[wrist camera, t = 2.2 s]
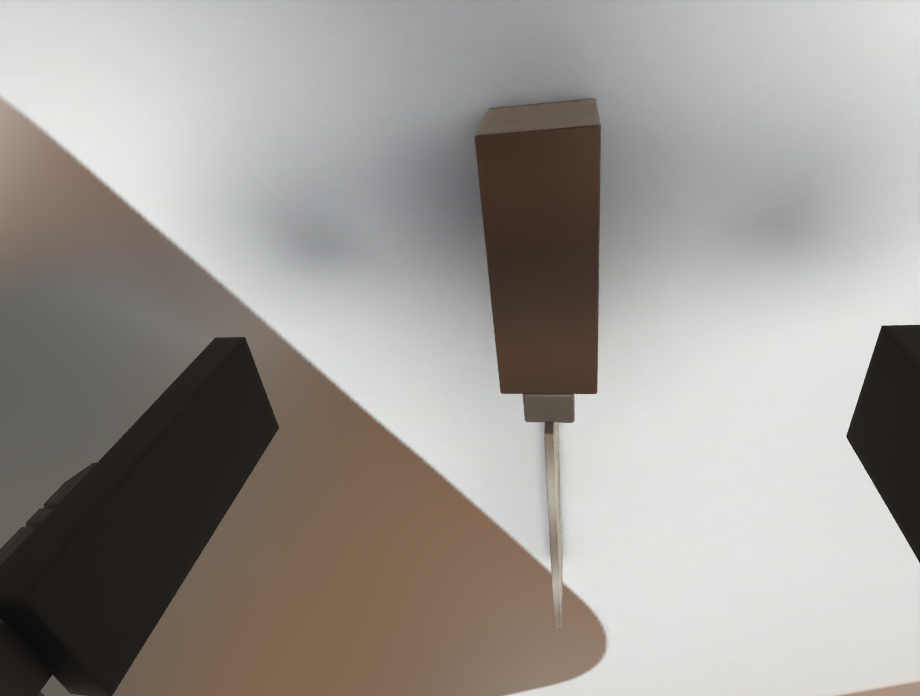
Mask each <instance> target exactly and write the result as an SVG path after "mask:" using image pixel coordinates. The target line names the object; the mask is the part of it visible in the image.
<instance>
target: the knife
mask: <svg viewBox="0 0 920 696" xmlns="http://www.w3.org/2000/svg"><path fill="white" fill-rule="evenodd" d="M475 147H476V157H477V167H478V176H479V186H480V196H481V206H482V216H483V225H484V235H485V245H486V255H487V264H488V274H489V284H490V294H491V303H492V313H493V323H494V333H495V342H496V352H497V362H498V372H499V381H500V391H501V393H502V394H523V403H524V416H525V421H526V422H545V430H544V438H545V457H546V476H547V495H548V514H549V533H550V552H551V571H552V590H553V609H554V627H555V628H562V565H563V556H562V527H561V498H560V469H559V441H558V422H561V423H572V422H574V394H596V393H597V371H598V299H599V227H600V154H601V124H600V119H599V113H598V107H597V101H596V99H586V100H575V101H565V102H554V103H543V104H533V105H522V106H511V107H501V108H490V109H489V110H488V112H487V114H486V115H485V117H484V119H483V121H482V123H481V125H480V127H479V129H478V131H477V133H476V135H475Z"/></svg>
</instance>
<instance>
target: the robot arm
mask: <svg viewBox="0 0 920 696" xmlns="http://www.w3.org/2000/svg"><path fill="white" fill-rule="evenodd" d="M278 429H279V426H278V424H277V421H276V418H275V416H274V413H273V410H272V408H271V405H270V402H269V400H268V397H267V394H266V392H265V389H264V387H263V384H262V381H261V378H260V376H259V373H258V370H257V368H256V365H255V362H254V360H253V357H252V354H251V352H250V349H249V346H248V344H247V341H246V339H245V337H233V338H231V337H230V338H215V339H214V340H213V341H212V342H211V343H210V344H209V345H208V346H207V347H206V348H205V349H204V350H203V351H202V353H200V355H199V356H198V357H197V358H196V359H195V360H194V361H193V362H192V363H191V364H190V365H189V366H188V367H187V368H186V369H185V370H184V372H183V373H182V374H181V375H180V376H179V377H178V378H177V379H176V380H175V381H174V382H173V383H172V384H171V386H169V387H168V389H167V390H166V391H165V392H164V393H163V394H162V395H161V396H160V397H159V398H158V399H157V400H156V401H155V402H154V403H153V404H152V406H151V407H150V408H149V409H148V410H147V411H146V412H145V413H144V414H143V415H142V416H141V417H140V418H139V419H138V420H137V421H136V423H135V424H134V425H133V426H132V427H131V428H130V429H129V430H128V431H127V432H126V433H125V434H124V435H123V436H122V437H121V438H120V439H119V441H118V442H117V443H116V444H115V445H114V446H113V447H112V448H111V449H110V450H109V451H108V452H107V453H106V454H105V455H104V456H103V457H102V458H101V460H100V461H99V462H98V463H92V464H91V465H89V466H88V467H86V468H85V469H84V470H82V471H81V472H79V473H78V474H76V475H75V476H73V477H72V478H71V479H69V480H68V481H66V482H65V483H64V484H63V485H62V486H61V487H60V488H59V489H58V490H57V491H56V492H55V493H54V494H53V495H52V496H51V497H50V498H49V499H48V501H46V503H45V504H44V508H43V509H39V510H38V511H37V512H36V513H35V514H34V515H33V516H32V517H31V518H30V519H29V520H28V521H27V522H26V527H21V528H20V529H19V530H18V531H17V532H16V533H15V535H14V536H13V537H12V538H11V539H10V540H9V541H8V542H7V543H6V544H5V545H4V546H3V547H2V548H1V549H0V696H44V695H43V694H42V693H41V692H40V691H41V689H42V688H43V686H44V685H45V684H46V682H47V681H48V680H49V678H50V677H51V676H52V674H53V675H54V676H55V677H56V678H57V680H58V681H59V682H60V683H61V684H62V685H63V686H64V687H65V688H66V689H67V690H68V691H69V693H71V694H79V695H87V696H112V695H113V694H114V692H115V690H116V689H117V687H118V685H119V684H120V682H121V680H122V679H123V677H124V676H125V674H126V673H127V671H128V669H129V668H130V666H131V665H132V663H133V661H134V660H135V658H136V657H137V655H138V653H139V652H140V650H141V649H142V647H143V645H144V644H145V642H146V641H147V639H148V637H149V636H150V634H151V633H152V631H153V629H154V628H155V626H156V624H157V623H158V621H159V620H160V618H161V617H162V615H163V613H164V611H165V610H166V608H167V607H168V605H169V604H170V602H171V600H172V599H173V597H174V596H175V594H176V592H177V591H178V589H179V588H180V586H181V584H182V583H183V581H184V580H185V578H186V576H187V574H188V573H189V572H190V570H191V568H192V567H193V565H194V563H195V562H196V560H197V559H198V557H199V555H200V554H201V552H202V551H203V549H204V547H205V546H206V544H207V543H208V541H209V539H210V538H211V536H212V535H213V533H214V531H215V530H216V528H217V526H218V525H219V523H220V522H221V520H222V519H223V517H224V515H225V514H226V512H227V511H228V509H229V507H230V506H231V504H232V503H233V501H234V499H235V498H236V496H237V495H238V493H239V491H240V490H241V488H242V487H243V485H244V483H245V482H246V480H247V478H248V477H249V475H250V474H251V472H252V471H253V469H254V467H255V466H256V464H257V463H258V461H259V459H260V458H261V456H262V454H263V453H264V451H265V450H266V448H267V446H268V445H269V443H270V442H271V440H272V438H273V437H274V435H275V434H276V432H277V430H278ZM846 437H847V439H848V440H849V442H850V444H851V446H852V447H853V449H854V451H855V452H856V454H857V456H858V458H859V459H860V461H861V463H862V464H863V466H864V468H865V470H866V471H867V473H868V475H869V476H870V478H871V480H872V482H873V483H874V485H875V487H876V488H877V490H878V492H879V494H880V495H881V497H882V499H883V500H884V502H885V504H886V506H887V507H888V509H889V511H890V512H891V514H892V516H893V518H894V519H895V521H896V523H897V524H898V526H899V528H900V530H901V531H902V533H903V535H904V536H905V538H906V540H907V542H908V543H909V545H910V547H911V548H912V550H913V552H914V554H915V555H916V557H917V559H918V560H919V562H920V325H894V326H882V327H881V330H880V333H879V336H878V339H877V342H876V346H875V349H874V352H873V355H872V358H871V361H870V364H869V367H868V371H867V374H866V377H865V380H864V383H863V386H862V389H861V392H860V395H859V399H858V402H857V405H856V408H855V411H854V414H853V417H852V420H851V423H850V427H849V430H848V433H847V436H846Z"/></svg>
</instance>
